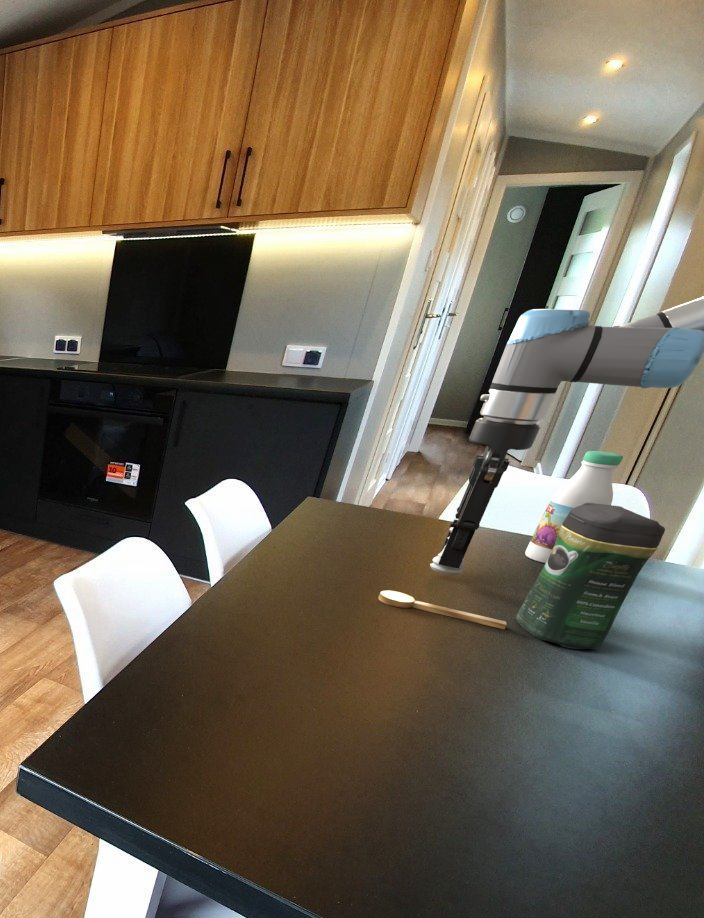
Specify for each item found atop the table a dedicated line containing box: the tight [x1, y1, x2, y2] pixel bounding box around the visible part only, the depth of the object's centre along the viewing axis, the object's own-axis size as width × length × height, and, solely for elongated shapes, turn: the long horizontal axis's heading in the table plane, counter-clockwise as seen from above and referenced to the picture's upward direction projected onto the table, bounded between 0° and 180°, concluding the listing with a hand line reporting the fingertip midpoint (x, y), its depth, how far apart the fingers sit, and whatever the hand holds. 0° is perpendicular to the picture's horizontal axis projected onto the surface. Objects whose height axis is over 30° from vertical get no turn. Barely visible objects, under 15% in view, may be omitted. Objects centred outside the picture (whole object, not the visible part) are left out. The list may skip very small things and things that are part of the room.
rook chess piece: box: [429, 523, 466, 576], centre depth 106 cm, size 4×4×8 cm
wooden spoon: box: [378, 590, 508, 630], centre depth 95 cm, size 15×4×1 cm, turn 51°
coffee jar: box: [515, 503, 666, 650], centre depth 85 cm, size 10×8×19 cm
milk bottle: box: [525, 450, 624, 564], centre depth 113 cm, size 8×8×20 cm
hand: (448, 561), depth 107 cm, fingers closed on rook chess piece, 4 cm apart
